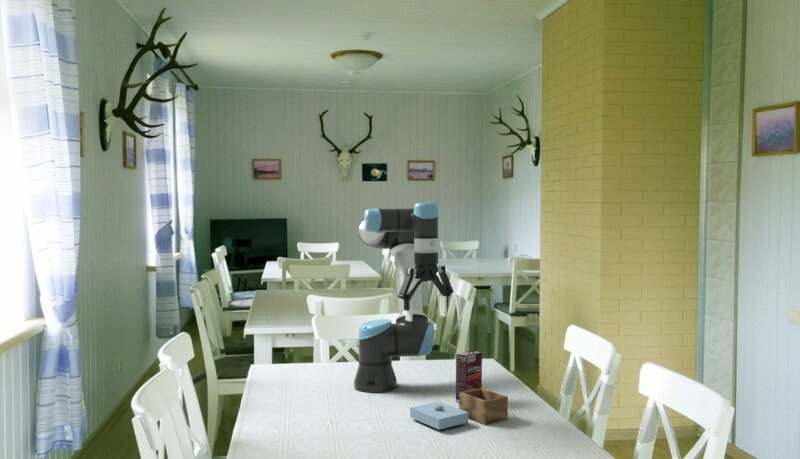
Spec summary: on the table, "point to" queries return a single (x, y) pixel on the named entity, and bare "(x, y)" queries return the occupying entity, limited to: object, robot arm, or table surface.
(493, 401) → the box
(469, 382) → the supplement box
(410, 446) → the table surface
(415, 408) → the lid
